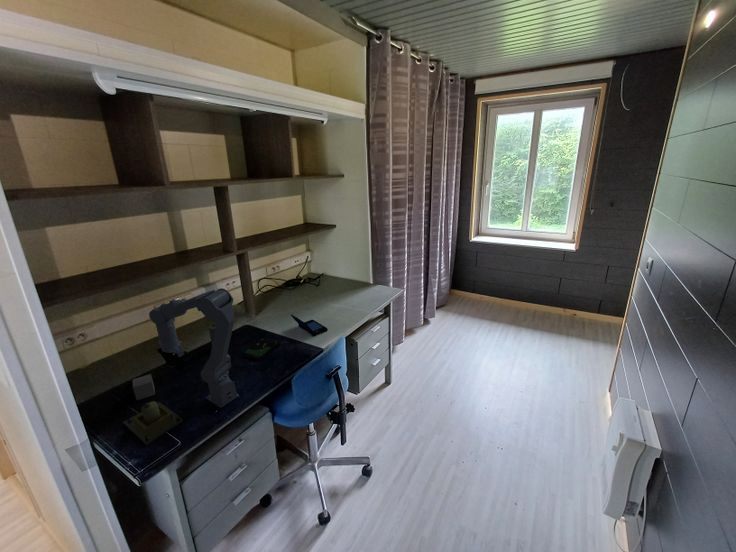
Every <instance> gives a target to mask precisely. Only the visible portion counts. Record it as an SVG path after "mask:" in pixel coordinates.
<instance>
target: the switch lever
mask: <svg viewBox="0 0 736 552" xmlns="http://www.w3.org/2000/svg"><path fill="white" fill-rule="evenodd" d="M157 403H158V402H157V401H150V402H145V403H144V404H143V405H142V406H141V409H140V410H141V412H142V413H143V416H144V419H145V422H146V424H147V426H149V425H151V424H152V423H154V422H156V421H157V420H159V419H161V418H162V417H161V414H160V411H159V408H158V405H157Z"/></svg>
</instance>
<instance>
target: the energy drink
mask: <svg viewBox="0 0 736 552" xmlns="http://www.w3.org/2000/svg"><path fill="white" fill-rule="evenodd" d="M216 324H217V323H213V324H211V325H210V326H208V331H209V336H210V342H211V346H212V345H213V339H214V334H215V329H216Z"/></svg>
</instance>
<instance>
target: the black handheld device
mask: <svg viewBox="0 0 736 552" xmlns="http://www.w3.org/2000/svg"><path fill="white" fill-rule="evenodd" d="M290 317H292V318H293V320H294V321H295V322H296V323H297V324H298V328H301V329H302V330H304V331H306V332H307V333H308V334H310V335H311V336H312V337H316V336H319V335H321V334H323V333H326V332H328V330H329V329H328V327H326V326H324V325H323V324H321V323H319V322H318V321H316V320H314V319H309V320H307V321H303V320H301V319H300V318H298V317H297V316H295V315H294V314H290Z"/></svg>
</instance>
